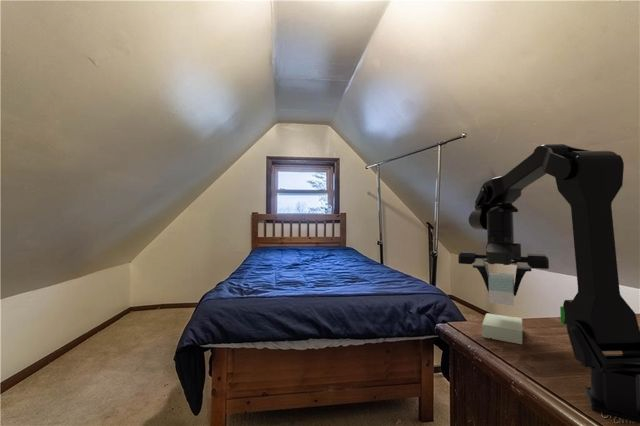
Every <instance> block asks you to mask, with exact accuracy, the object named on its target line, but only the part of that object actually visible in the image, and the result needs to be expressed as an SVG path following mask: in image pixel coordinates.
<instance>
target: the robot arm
mask: <svg viewBox="0 0 640 426" xmlns="http://www.w3.org/2000/svg"><path fill="white" fill-rule="evenodd" d="M624 163H625V162H624V160H623V157H622V156H621V155H619V154H617V153H616V152H614V151H612V150H588V149H584V148H577V147H573V146H571V145H566V144H564V143H563V144H562V143H560V144H556V143H555V144H553V143H552V144H550V143H548V144H542V145H539V146H536V147H535V149H534V150H533V152H532V153H531V154H530V155H528V156H527V157H526V158H524V159H523V160H522V161H521V162H519V163H518V164H516V166H514V167H513V168H511V170H509V171H508V172H507V173H506V174H504V175H500V176H496V177H493V178H490V179H488V180H486V181H484V183H483V184H482V186H481V187H480V190H479V193H478V195H477V197H476V199H475V202H474V204H475V205H474V210H473V211H472V212H470V214H469V216H468V224H469V226H470V227H472V228H473V229H475V230H478V231H479V230H481V231H486V238H487V239H486V240H487V241H486V242H487V243H486V246H485V252H486V253H485V254H479V253H478V251H473V250H472V251H470V250H469V251H468V250H463V251H461V252H460V253H459V254H458V257H457V259H458V264H461V265H472V268H473V269H477V271H478V272H479V273H480V276H481V277H482V279H483V282H484V284H485V287H486V290H487V292H488V294H489V281H488V278H489V276H490V271H489V265H503V266H509V265H511V264H514V265H516V269H515V275H514V296H515V297H516V296H517V294H518V291H519V287H520V284H521V282H522V280H523V278H524V277H525V274H526V273H527V272H532V269H541V270H549V269H550V264H549V257H548V256H547V255H546V254H545V253H542V254H541V253H527V254H526V256H522V247H521V243H515V234H514V232H515V231H514V230H515V229H514V227H515V226H514V213H518V212H519V209H518V208H517V207H516V206H514V205H513V204H514V203H515V202H516V201H517V200H518V199H519V198H520V197H521V196H522V191H523V190H524V189H525V188H527V187H528V186H530V185H531V184H533V183H534V182H536V181H537V180H539V179H541V178H542V177H544V176H545V175H549V176H552V177H553V178H554V179H555V182H556V187H557V191H558V193H560V195H561V196H562V197H563V199H564V200H565V201H566V202H567V203H568V204H569V206H570V212H571V225H572V233H573V236H572V237H573V244H574V245H573V247H574V258H575V259H574V260H575V269H576V270H575V271H576V281H577V292H576V294H575V295H574V297H573V299H564V301H563V305H562V306H563V307H564V312H565V320H564V323H563V324H564V325H566V324H567V328H566V330H567V334H568V337H569V338H568V339H569V341H570V345H571V348H572V351H573V355H574V358H575V359H576V360H577V361H579V362H580V363H581V366H583V367H585V368H589V369H590V386H585V387H584V390H585V393H586V397H587V400H588V402H589V405H590V407H591V409H592V410H594V411H597V412H600V413H605V414H608V415H614V416H617V417H620V418H625V419H629V420H632V421H636V422H640V327H639V322H638V319H637V315H636V313H635V311H634V310H633V309H632V308H631V307H630V305H629V304H628V303H627V301H626V300H625V299H624V298H623V297H622V294H621V291H620V281H619V270H618V260H617V249H616V241H615V230H614V219H613V209H612V203H613V202H614V199H615V198H616V197H617V195H618V193H619V192H620V190H621V188H622V187H623V181H624V170H625V168H624V167H625V165H624ZM604 352H621V353H607V354H606V353H604Z"/></svg>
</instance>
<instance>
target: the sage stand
mask: <svg viewBox="0 0 640 426" xmlns="http://www.w3.org/2000/svg"><path fill="white" fill-rule="evenodd" d="M481 328H482V329H481V337H482V338H485V339H490V338H492V339H491V340H497V341H500V342H501V341H502V342H507V343H513V344H519V345H523V317H515V316H509V315H501V314H496V313H495V314H494V313H485V315H484V318H483V321H482V323H481Z"/></svg>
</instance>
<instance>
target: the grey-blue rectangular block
mask: <svg viewBox="0 0 640 426" xmlns="http://www.w3.org/2000/svg"><path fill="white" fill-rule="evenodd" d="M488 281H489V293H488V303H489V304H497V305H505V306H515V299H516V296H514V284H515V274H514V273H504V272H503V273H500V272H491V273H489V278H488Z"/></svg>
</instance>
